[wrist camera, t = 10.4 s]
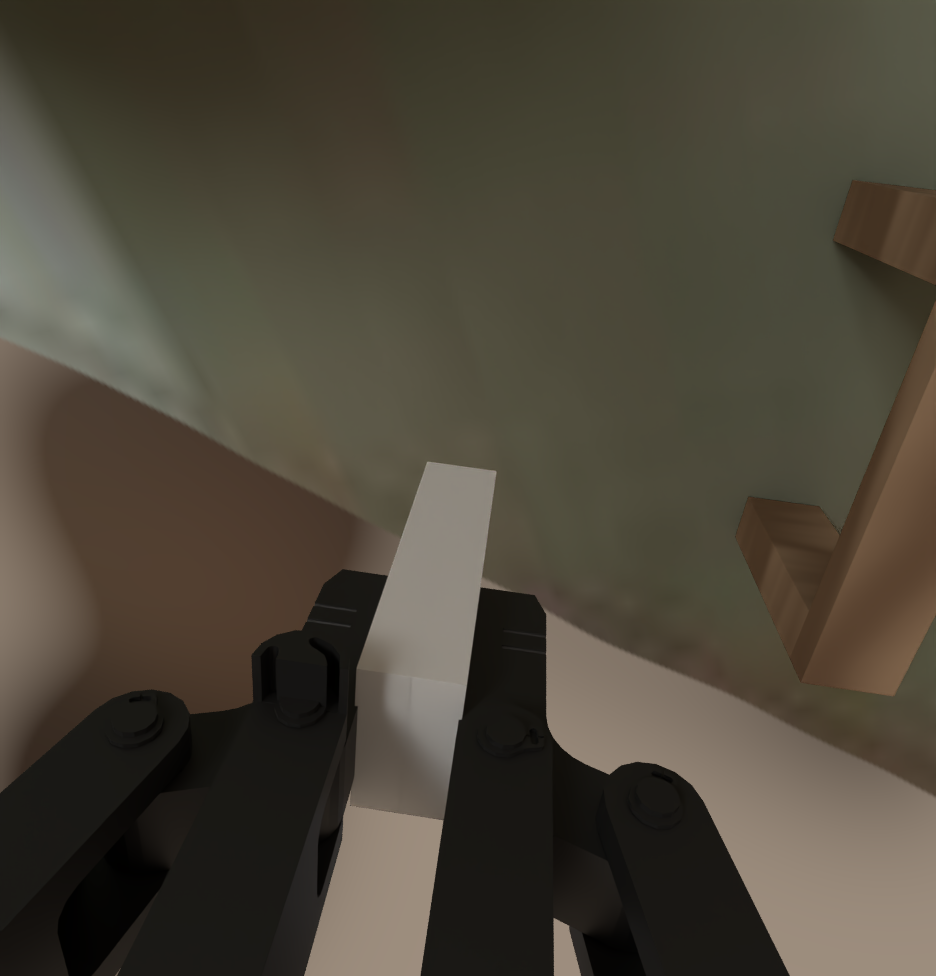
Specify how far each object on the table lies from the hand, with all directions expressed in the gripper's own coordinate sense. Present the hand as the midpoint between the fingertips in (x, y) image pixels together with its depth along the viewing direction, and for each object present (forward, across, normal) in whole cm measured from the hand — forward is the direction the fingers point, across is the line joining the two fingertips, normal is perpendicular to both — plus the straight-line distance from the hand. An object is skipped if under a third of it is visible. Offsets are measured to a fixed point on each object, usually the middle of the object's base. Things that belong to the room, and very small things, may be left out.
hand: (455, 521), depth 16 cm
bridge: (+14, +13, 0) cm, 19 cm away
